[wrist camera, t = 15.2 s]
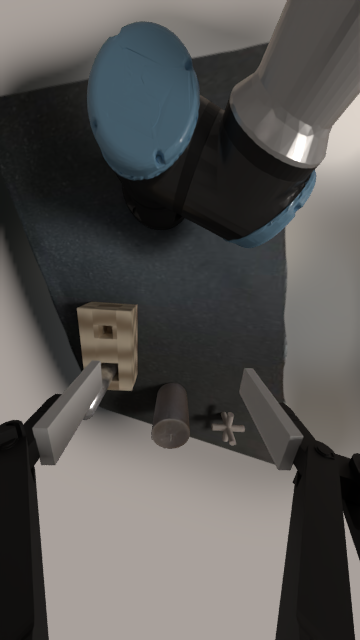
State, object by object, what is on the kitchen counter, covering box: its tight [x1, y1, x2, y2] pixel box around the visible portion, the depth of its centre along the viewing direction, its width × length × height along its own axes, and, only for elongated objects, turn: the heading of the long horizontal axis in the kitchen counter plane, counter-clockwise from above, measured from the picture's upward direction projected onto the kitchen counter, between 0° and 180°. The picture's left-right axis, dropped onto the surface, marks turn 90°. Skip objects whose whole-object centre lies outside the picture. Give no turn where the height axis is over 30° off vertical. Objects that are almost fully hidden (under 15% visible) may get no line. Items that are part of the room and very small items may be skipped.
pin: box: [83, 363, 118, 420], centre depth 40 cm, size 4×4×18 cm
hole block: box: [77, 302, 137, 391], centre depth 45 cm, size 22×12×7 cm, turn 176°
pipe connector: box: [211, 412, 245, 445], centre depth 53 cm, size 10×10×10 cm
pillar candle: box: [151, 383, 190, 449], centre depth 48 cm, size 10×10×15 cm
